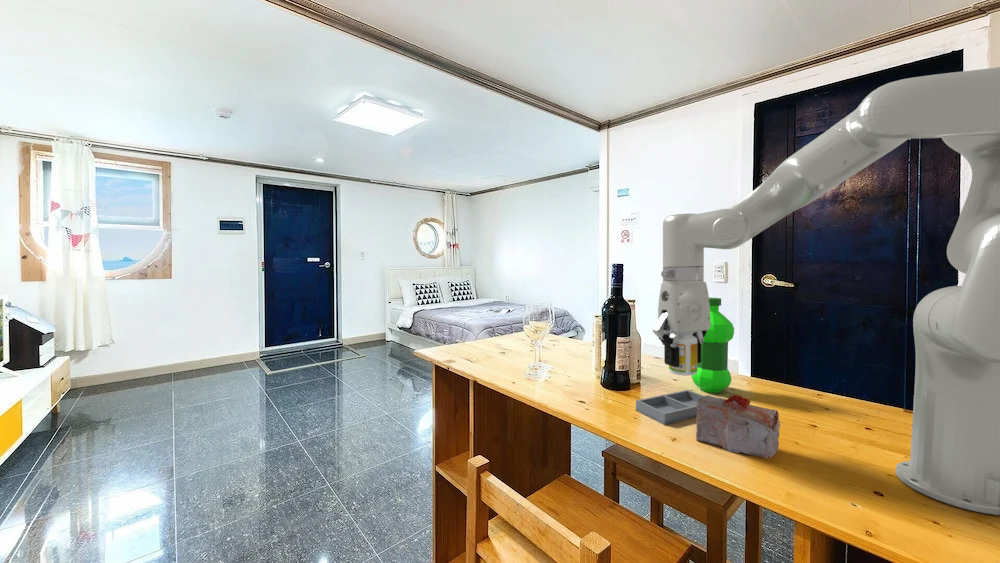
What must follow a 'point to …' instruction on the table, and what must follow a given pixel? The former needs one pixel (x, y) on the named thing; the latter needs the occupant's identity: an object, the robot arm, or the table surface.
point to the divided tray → (670, 406)
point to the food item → (738, 425)
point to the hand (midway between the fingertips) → (682, 362)
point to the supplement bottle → (686, 355)
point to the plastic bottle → (715, 352)
